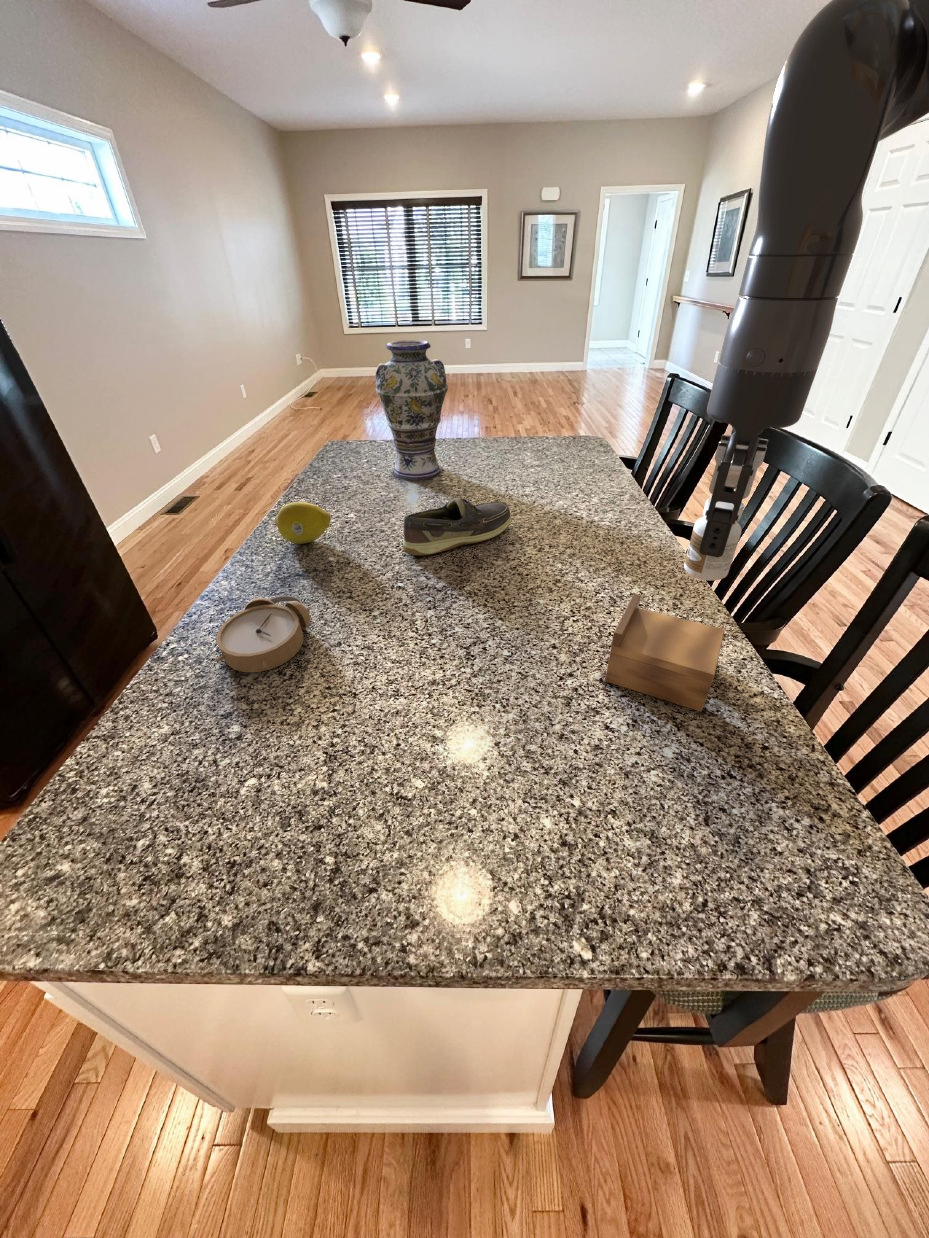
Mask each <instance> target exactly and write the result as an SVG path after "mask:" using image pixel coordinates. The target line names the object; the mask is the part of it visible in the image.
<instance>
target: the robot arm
mask: <svg viewBox="0 0 929 1238" xmlns="http://www.w3.org/2000/svg"><path fill="white" fill-rule="evenodd" d="M928 114H929V0H830V1H829V2H828V3H827V4H826V5H824V6H823V7H822V8H821V9H820V10H819V11H818V12H817V13H816V14H815V16H813V18H812V19H811V20H810V21H809V22H808V24H807V25H805V27H804V29H803V30H802V32H801V33H800V35H799V36H798V37H797V39H796V41H795V43H794V44H793V46H792V48H791V50H790V52H789V54H788V56H787V57H786V60H785V62H784V65H783V68H782V70H781V73H780V75H779V78H778V81H777V84H776V88H775V91H774V94H773V99H772V102H771V105H770V111H769V116H768V119H767V121H768V122H767V125H766V131H765V139H764V147H763V153H762V161H761V162H762V163H761V173H760V181H759V189H758V203H757V219H756V227H755V231H754V235H753V237H752V241H751V244H750V247H749V251H748V253H747V254H748V256H747V258H746V263H745V267H744V270H743V275H742V278H741V283H740V286H739V290H738V296H737V298H736V301H735V304H734V308H733V309H732V313H731V314H730V315H731V316H730V318H729V320H728V323H727V326H726V329H725V334H724V338H723V341H722V345H721V349H720V354H719V358H718V361H717V366H716V370H715V375H714V378H713V382H712V386H711V391H710V395H709V398H708V402H707V407H706V413H707V416H708V417H709V418H711V419H712V420H714V421H716V422H717V423H720V424H728V425H729V426H731V429H732V430H731V432H730V434H722V435H721V438H720V441H718V443H717V444H718V445H717V449H716V451H715V455H714V461H715V466H714V469H713V472H712V476H711V480H710V484H709V488H708V491H709V493H710V494H711V497H712V498H711V497H710V498H711V502H710V505H709V509H708V510H707V511H706V514H705V516H707V517H706V520H707V524H706V527H705V531H704V534H703V538H702V541H701V545H700V549H699V552H700V553H701V554H703V555H708V556H713V557H721V556H722V555H723V553H724V550H725V547H726V543H727V540H728V537H729V534H730V531H731V527H732V524H735V521H737V520H738V517H739V515H738V511H739V508H740V505H741V502H742V503H743V500H745V499H747V498H748V497H749V496H750V494H751V491H752V488H753V485H754V481H755V479H756V475H757V473H758V472H757V471H758V469H759V467H761V466H762V465H763V462H764V460H765V456H766V452H767V449H768V447H767V446H768V443H769V439H765V438H762V433H763V431H765V430H767V429H770V428H771V429H774V430H776V429H777V430H778V429H783V428H788V427H792V426H794V425H795V424H797V423H798V422H799V421H800V420H801V417H802V415H803V412H804V409H805V406H806V403H807V400H808V397H809V395H810V392H811V388H812V386H813V383H814V381H815V377H816V374H817V372H818V368H819V366H820V364H821V360H822V357H823V354H824V351H825V348H826V346H827V343H828V340H829V337H830V333H831V331H832V327H833V321H834V316H835V313H836V312H835V311H836V309H837V308H836V307H837V303H838V301H839V298H838V297H839V296H840V295H841V292H842V288H843V286H844V282H845V280H846V277H847V274H848V271H849V268H850V267H851V263H852V260H853V257H854V254H855V250H856V248H857V244H858V241H859V238H860V234H861V230H862V225H863V220H864V211H863V194H864V189H865V186H866V182H867V179H868V176H869V174H870V171H871V167H872V164H873V160H874V157H875V154H876V151H877V148H878V145H879V143H880V142H882V141H883V140H886V139H887V138H889V137H891V136H893V135H894V134H896V133H898V132H900V131H901V130H903V129H905V128H907V127H908V126H910V125H912V124H913V123H915V122H917V121H918V120H920V119H922V118H923V117H925V116H926V115H928ZM717 502H726V503H732V504H733V505H734V507H733V510H730V509H724V508H718V507H716V503H717Z"/></svg>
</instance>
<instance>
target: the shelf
mask: <svg viewBox="0 0 929 1238" xmlns="http://www.w3.org/2000/svg"><path fill="white" fill-rule="evenodd" d="M641 599H642V595H640V594H637V593H633V594H632V596H631V598H630V599H629V602H628V604H627V606H626V608H625V610H624V612H623V614H622V615H621V618H620V620H619V622H618V624H617V626H616V628H615V630H614V631H613V636H612V641H611V646H610V652H609V655H608V656H609V658H608V661H607V668H606V671H605V677H604V682H607V683H609V684H612V685H617V686H619V687H622V688H625V689H628V690H632V691H636V692H638V693H641V694H644V695H646V696H651V697H654V698H657V699H660V700H663V701H667V702H670V703H672V704H676V705H678V706H682V707H685V708H688V709H691V710H695V711H698V712H703V709H704V707H705V703H706V701H707V698H708V695H709V692H710V690H711V687H712V684H713V681H714V678H715V675H716V672H717V671H716V670H717V667H718V662H719V656H720V652H721V648H722V645H723V644H722V643H723V641H724V635H725V631H726V630H725V629H724V628H720V627H716V626H712V625H709V624H705V623H700V622H696V621H692V620H688V619H685V618H680V617H677V616H673V615H668V614H666V613H661V612H657V611H652V610H649V609H645V608H642V607H640V603H641Z"/></svg>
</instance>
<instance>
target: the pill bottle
mask: <svg viewBox="0 0 929 1238" xmlns="http://www.w3.org/2000/svg"><path fill="white" fill-rule="evenodd" d="M711 498H712V496H710V497H708V498H707V499H706V501H705V503H704V508H703V511H702V515H703V516H702V517H700V518H698V519H697V520H696V521H695V523H694V525H693V529H692V532H691V536H690V540H689V543H688V548H687V551H686V555H685V558H684V563H683V568H684V571H686V573H687V574H689V575H690V576H691V577H694V578H695V579H699V580H703V581H720V580H722V579H725V578H726V577H727V576H728V575H729V572H730V569H731V566H732V563H733V560H734V557H735V554H736V550H737V547H738V544H739V541H740V538H741V535H742V527H741V525H740V523H739V522H740V521H741V518H742V515H743V512H744V509H745V504H744V503H743V501H742V502H741V505H740V508H739V511H738V515H739V517H738V520H737V521H735V524H732V527H731V531H730V534H729V537H728V540H727V543H726V547H725V550H724V553H723V555H722V556H721V557H713V556H708V555H703V554H701V553H700V552H699V549H700V545H701V541H702V538H703V534H704V531H705V527H706V524H707V520H706V517H707V516H705V514H706V511H707V510H708V509H709V505H710V502H711ZM716 507H718V508H724V509H730V510H733V507H734V505H733V504H732V503H726V502H717V503H716Z"/></svg>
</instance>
